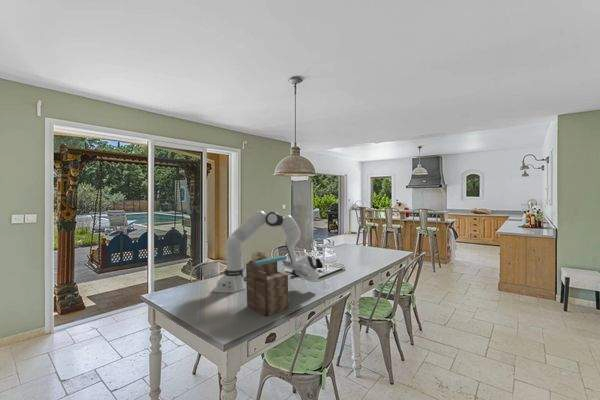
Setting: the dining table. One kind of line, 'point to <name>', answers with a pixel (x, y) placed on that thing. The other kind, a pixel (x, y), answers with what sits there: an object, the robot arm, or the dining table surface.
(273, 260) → the slat
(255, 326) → the dining table surface
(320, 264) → the magazine
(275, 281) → the rack
